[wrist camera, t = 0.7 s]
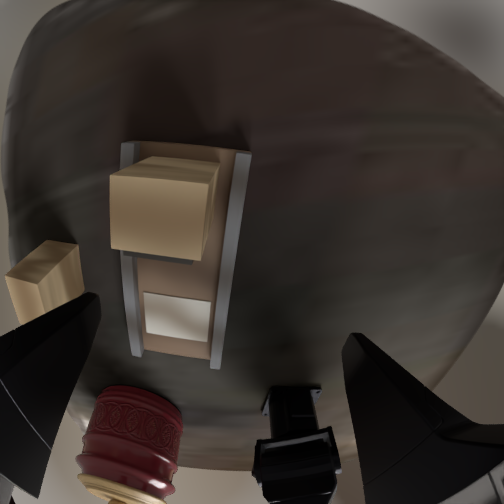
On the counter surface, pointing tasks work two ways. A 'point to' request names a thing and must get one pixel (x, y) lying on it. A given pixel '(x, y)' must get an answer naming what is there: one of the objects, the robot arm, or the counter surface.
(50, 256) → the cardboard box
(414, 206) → the counter surface
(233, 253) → the slider rail with block
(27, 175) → the counter surface
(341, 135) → the counter surface
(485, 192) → the counter surface
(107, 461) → the canister
